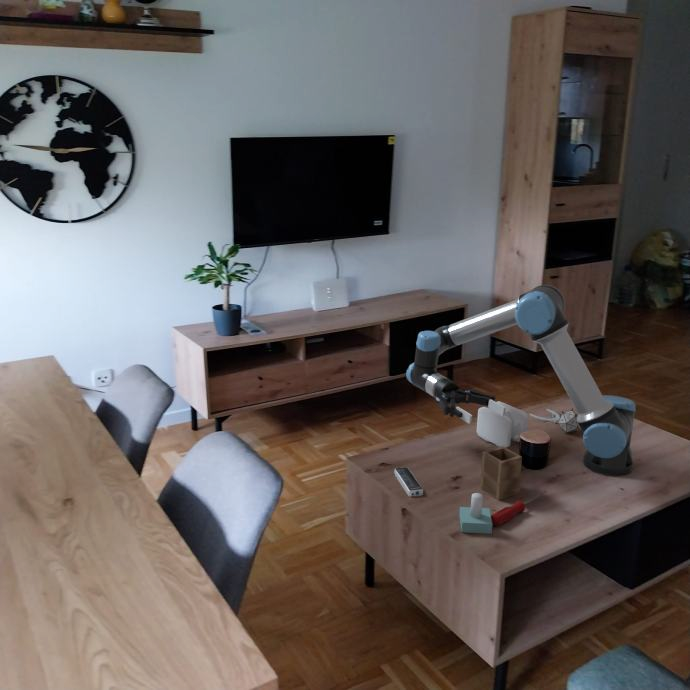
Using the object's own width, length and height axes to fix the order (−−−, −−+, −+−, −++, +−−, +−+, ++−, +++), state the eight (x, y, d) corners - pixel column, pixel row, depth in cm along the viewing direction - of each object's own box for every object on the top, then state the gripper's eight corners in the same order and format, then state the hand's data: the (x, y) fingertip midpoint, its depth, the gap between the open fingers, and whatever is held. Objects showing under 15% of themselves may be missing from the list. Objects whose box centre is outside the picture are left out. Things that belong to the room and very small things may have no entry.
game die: (572, 442, 252) (588, 428, 245) (550, 434, 252) (566, 420, 244) (572, 422, 258) (587, 408, 251) (551, 414, 257) (565, 400, 250)
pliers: (547, 406, 271) (578, 420, 259) (547, 410, 272) (578, 424, 259) (529, 411, 266) (559, 426, 254) (528, 415, 267) (559, 430, 255)
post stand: (488, 517, 197) (490, 489, 195) (491, 533, 190) (494, 504, 187) (459, 516, 198) (461, 487, 195) (461, 532, 190) (463, 502, 188)
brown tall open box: (500, 481, 217) (503, 446, 213) (518, 493, 210) (522, 456, 207) (480, 488, 213) (482, 452, 209) (498, 500, 207) (501, 463, 203)
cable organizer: (473, 436, 248) (476, 405, 245) (494, 428, 254) (497, 398, 251) (506, 451, 237) (509, 419, 233) (527, 443, 243) (530, 412, 239)
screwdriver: (551, 498, 208) (552, 487, 207) (499, 528, 192) (500, 517, 191) (541, 493, 211) (542, 483, 209) (488, 523, 195) (489, 512, 194)
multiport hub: (407, 473, 223) (407, 466, 222) (423, 496, 209) (423, 489, 208) (393, 474, 221) (394, 468, 221) (409, 498, 208) (409, 491, 207)
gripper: (469, 393, 236) (515, 419, 220) (410, 405, 223) (454, 434, 207) (473, 372, 234) (519, 397, 217) (413, 383, 221) (457, 411, 204)
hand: (487, 415), depth 212 cm, fingers open, 13 cm apart
